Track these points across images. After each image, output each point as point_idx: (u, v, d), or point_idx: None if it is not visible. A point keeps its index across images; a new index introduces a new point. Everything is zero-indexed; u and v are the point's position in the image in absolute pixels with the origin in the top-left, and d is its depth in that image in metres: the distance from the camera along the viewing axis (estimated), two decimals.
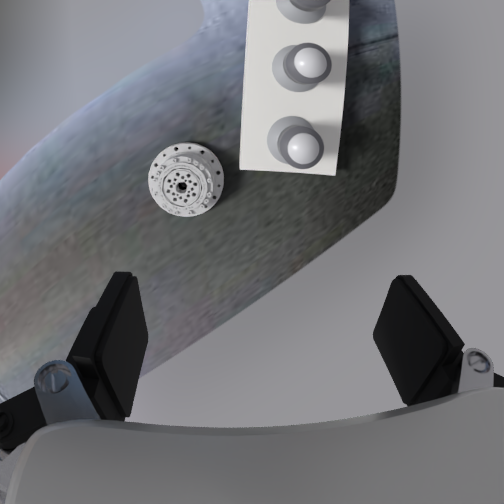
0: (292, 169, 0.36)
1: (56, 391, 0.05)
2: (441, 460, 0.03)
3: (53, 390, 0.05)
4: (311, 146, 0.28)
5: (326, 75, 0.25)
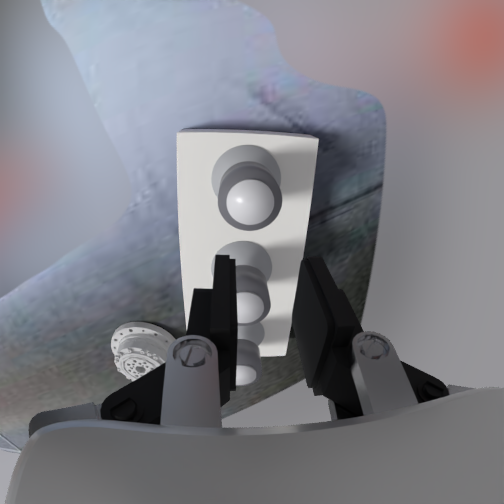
0: None
1: (188, 365, 0.07)
2: (441, 460, 0.03)
3: (185, 363, 0.07)
4: (248, 374, 0.29)
5: (264, 316, 0.25)
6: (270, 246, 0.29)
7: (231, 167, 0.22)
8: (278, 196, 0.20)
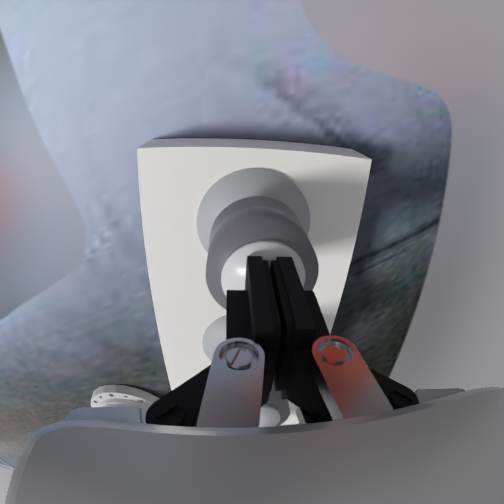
0: None
1: (233, 367, 0.07)
2: (441, 460, 0.03)
3: (231, 365, 0.07)
4: None
5: (279, 423, 0.16)
6: None
7: (229, 208, 0.13)
8: (312, 267, 0.12)
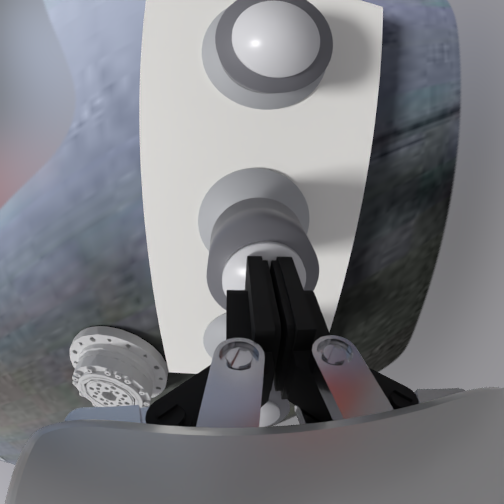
0: None
1: (233, 367, 0.07)
2: (441, 460, 0.03)
3: (231, 365, 0.07)
4: (265, 414, 0.15)
5: None
6: (307, 180, 0.15)
7: None
8: (326, 36, 0.09)
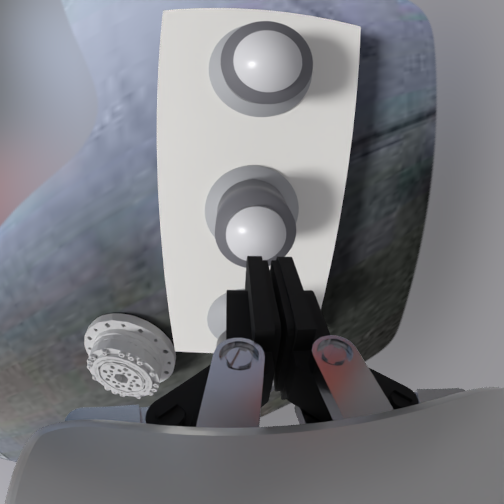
0: None
1: (233, 367, 0.07)
2: (441, 460, 0.03)
3: (231, 365, 0.07)
4: None
5: (285, 251, 0.17)
6: (296, 175, 0.18)
7: None
8: (307, 57, 0.12)
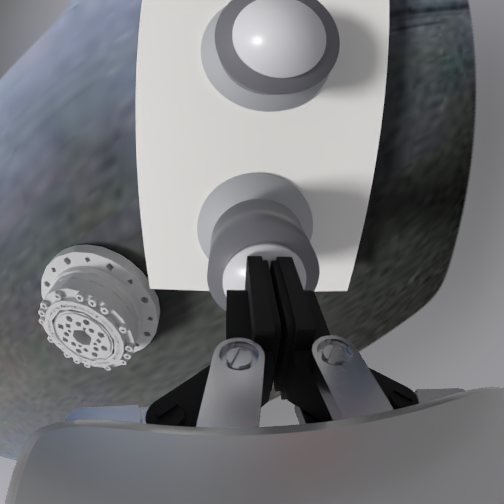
0: None
1: (233, 367, 0.07)
2: (441, 460, 0.03)
3: (231, 365, 0.07)
4: None
5: (325, 71, 0.09)
6: None
7: None
8: None
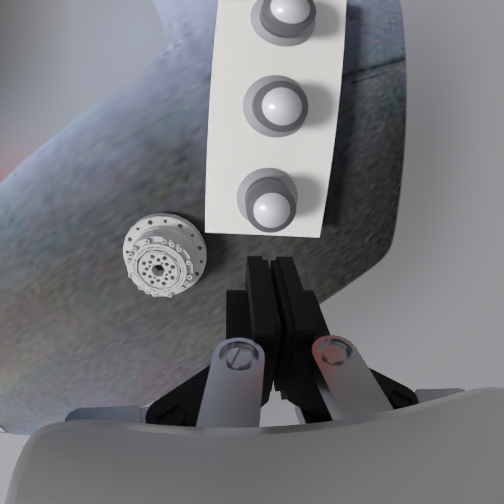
0: (267, 232, 0.31)
1: (233, 367, 0.07)
2: (441, 460, 0.03)
3: (231, 365, 0.07)
4: (281, 207, 0.26)
5: (301, 121, 0.23)
6: (306, 84, 0.24)
7: None
8: (312, 7, 0.18)
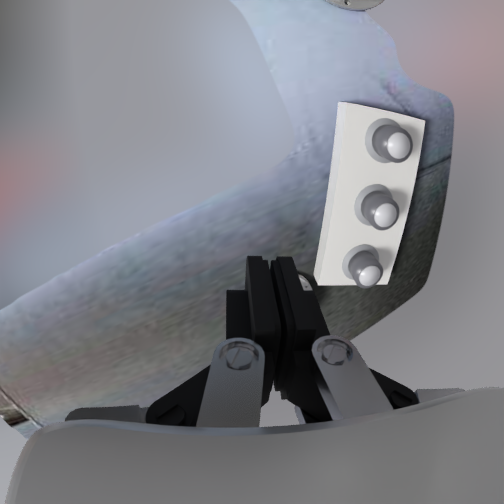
0: None
1: (233, 367, 0.07)
2: (441, 460, 0.03)
3: (231, 365, 0.07)
4: (375, 274, 0.39)
5: (394, 223, 0.36)
6: (393, 189, 0.37)
7: (381, 126, 0.32)
8: (411, 144, 0.31)
